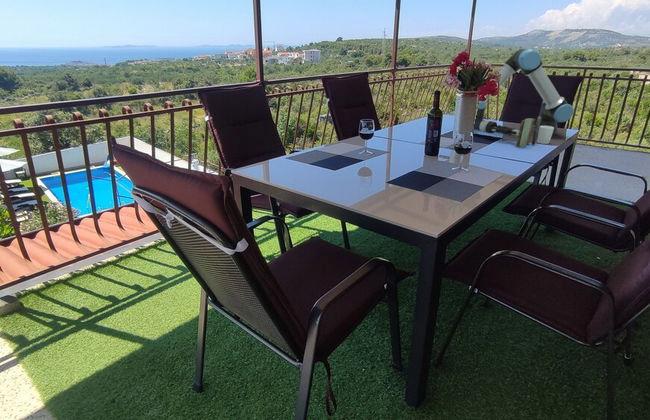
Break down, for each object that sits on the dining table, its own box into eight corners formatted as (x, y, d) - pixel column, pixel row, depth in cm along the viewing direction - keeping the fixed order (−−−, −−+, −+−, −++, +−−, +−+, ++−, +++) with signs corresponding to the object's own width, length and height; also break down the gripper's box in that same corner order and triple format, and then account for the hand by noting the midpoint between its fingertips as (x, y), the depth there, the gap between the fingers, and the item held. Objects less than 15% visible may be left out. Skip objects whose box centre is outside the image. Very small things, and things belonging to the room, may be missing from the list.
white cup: (548, 145, 229) (553, 128, 225) (534, 143, 233) (538, 127, 229) (550, 142, 235) (555, 126, 231) (537, 140, 239) (541, 125, 235)
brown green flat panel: (528, 143, 231) (533, 118, 225) (529, 143, 230) (535, 119, 224) (515, 145, 226) (521, 120, 219) (517, 145, 225) (523, 120, 218)
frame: (532, 143, 231) (539, 116, 224) (535, 144, 230) (542, 116, 223) (518, 147, 223) (525, 118, 216) (522, 148, 222) (528, 119, 215)
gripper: (493, 131, 248) (527, 138, 230) (480, 133, 241) (514, 141, 223) (496, 120, 245) (530, 126, 227) (483, 122, 238) (517, 129, 220)
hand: (522, 134), depth 225 cm, fingers closed
